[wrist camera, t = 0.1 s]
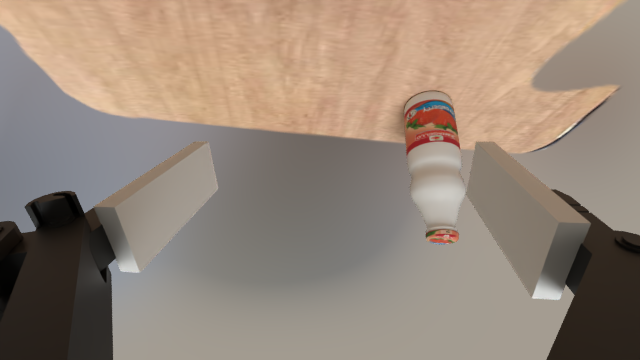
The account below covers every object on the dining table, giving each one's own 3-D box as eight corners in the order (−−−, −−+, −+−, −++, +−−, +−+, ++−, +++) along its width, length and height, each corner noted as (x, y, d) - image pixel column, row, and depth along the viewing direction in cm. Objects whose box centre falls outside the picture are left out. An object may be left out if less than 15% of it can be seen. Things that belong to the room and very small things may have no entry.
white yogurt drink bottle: (400, 121, 66) (407, 246, 53) (407, 89, 58) (418, 229, 45) (445, 121, 65) (463, 250, 52) (459, 89, 57) (485, 232, 44)
